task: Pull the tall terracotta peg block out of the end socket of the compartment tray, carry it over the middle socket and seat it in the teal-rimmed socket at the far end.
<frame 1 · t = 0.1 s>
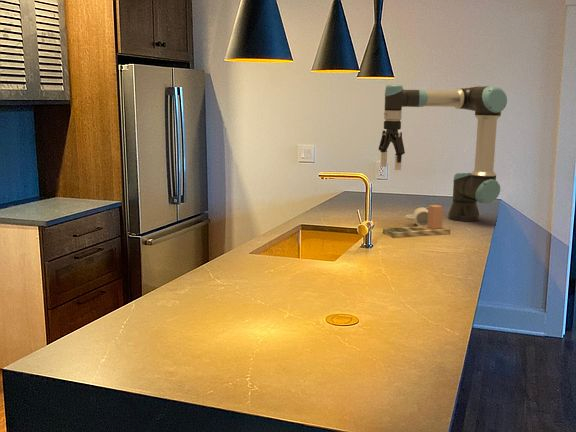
hand: (390, 168, 293), 28 cm above the worktop, fingers open, 13 cm apart
mug: (417, 226, 308), on the worktop
compartment tray: (416, 233, 290), on the worktop
peg block: (434, 232, 293), resting in compartment tray
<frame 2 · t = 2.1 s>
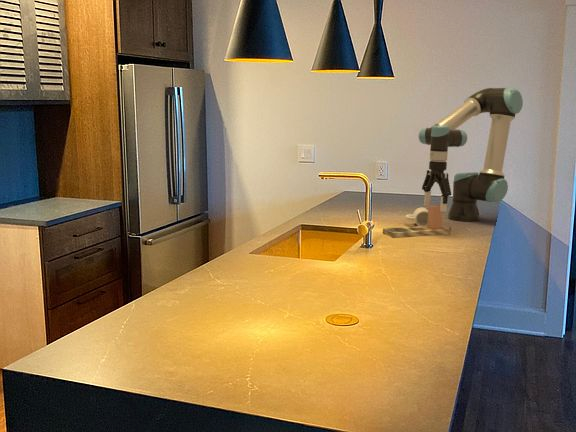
hand: (434, 208, 290), 11 cm above the worktop, fingers open, 13 cm apart
nothing on the worktop moved.
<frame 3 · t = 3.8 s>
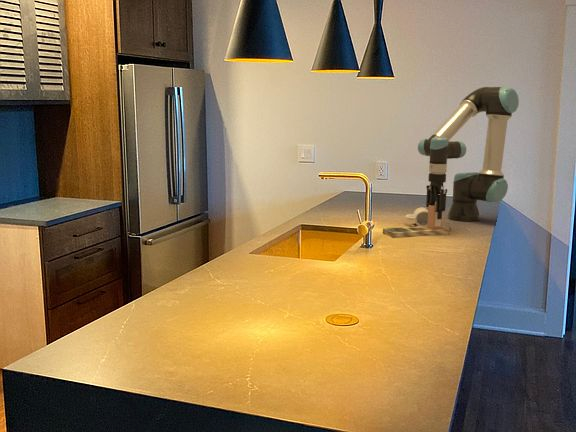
hand: (434, 224, 292), 3 cm above the worktop, fingers closed on peg block, 4 cm apart
peg block: (434, 232, 293), resting in compartment tray, touching gripper
everything else where it was.
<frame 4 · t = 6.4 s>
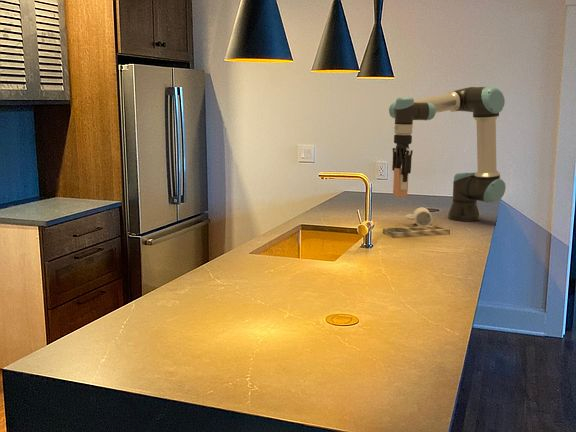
hand: (400, 188, 283), 20 cm above the worktop, fingers closed on peg block, 4 cm apart
peg block: (400, 196, 284), point 17 cm above the worktop, touching gripper
everything else where it was.
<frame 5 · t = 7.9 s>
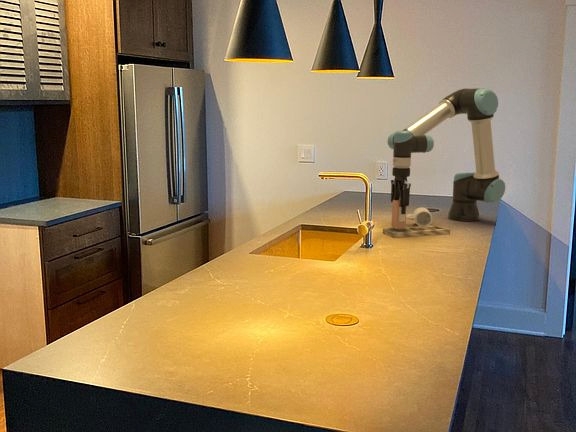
hand: (398, 220, 286), 6 cm above the worktop, fingers closed on peg block, 4 cm apart
peg block: (398, 227, 286), point 3 cm above the worktop, touching gripper
everything else where it was.
when the fingers open (4 cm above the worktop, at t = 9.0 s): peg block stays where it is, resting in compartment tray.
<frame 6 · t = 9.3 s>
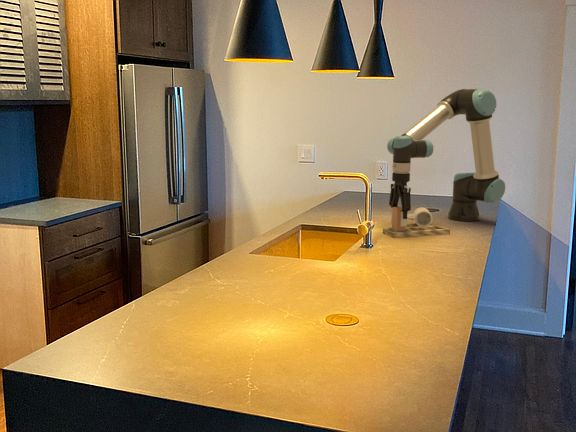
hand: (398, 224, 286), 5 cm above the worktop, fingers open, 8 cm apart
peg block: (398, 234, 287), resting in compartment tray
everything else where it was.
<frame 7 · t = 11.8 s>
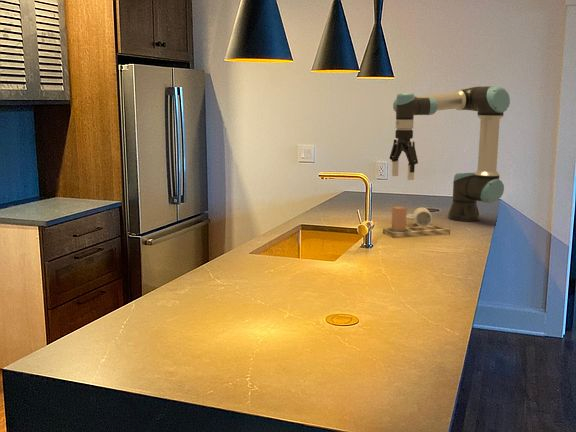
hand: (402, 177, 288), 24 cm above the worktop, fingers open, 13 cm apart
nothing on the worktop moved.
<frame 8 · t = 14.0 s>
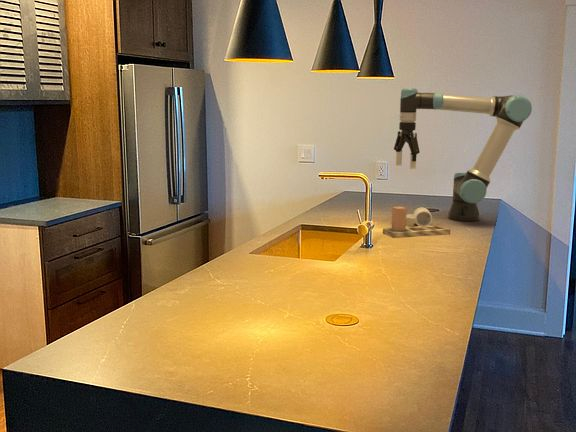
hand: (405, 166, 310), 27 cm above the worktop, fingers open, 13 cm apart
nothing on the worktop moved.
at the end: peg block 0.0 cm from the target spot on the compartment tray, point 0.0 cm above the compartment tray's base; peg block tilted 0°; the gripper is holding nothing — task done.
